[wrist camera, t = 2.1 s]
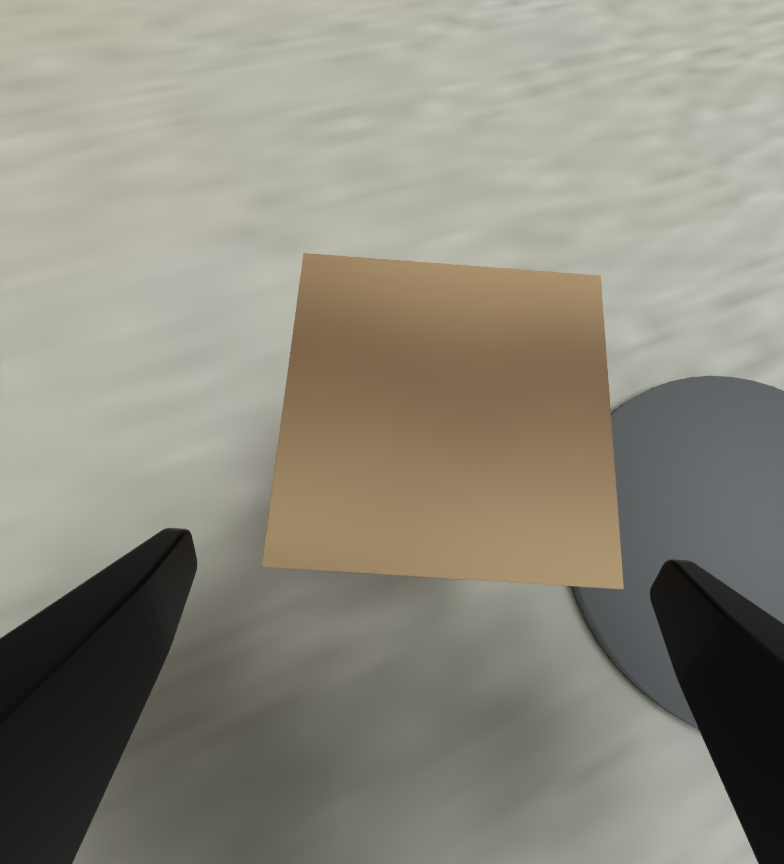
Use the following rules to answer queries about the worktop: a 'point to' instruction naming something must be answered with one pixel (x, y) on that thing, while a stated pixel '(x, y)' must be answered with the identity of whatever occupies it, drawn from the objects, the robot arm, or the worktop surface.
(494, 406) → the tan wooden block
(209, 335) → the worktop surface
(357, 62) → the worktop surface
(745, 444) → the mat
